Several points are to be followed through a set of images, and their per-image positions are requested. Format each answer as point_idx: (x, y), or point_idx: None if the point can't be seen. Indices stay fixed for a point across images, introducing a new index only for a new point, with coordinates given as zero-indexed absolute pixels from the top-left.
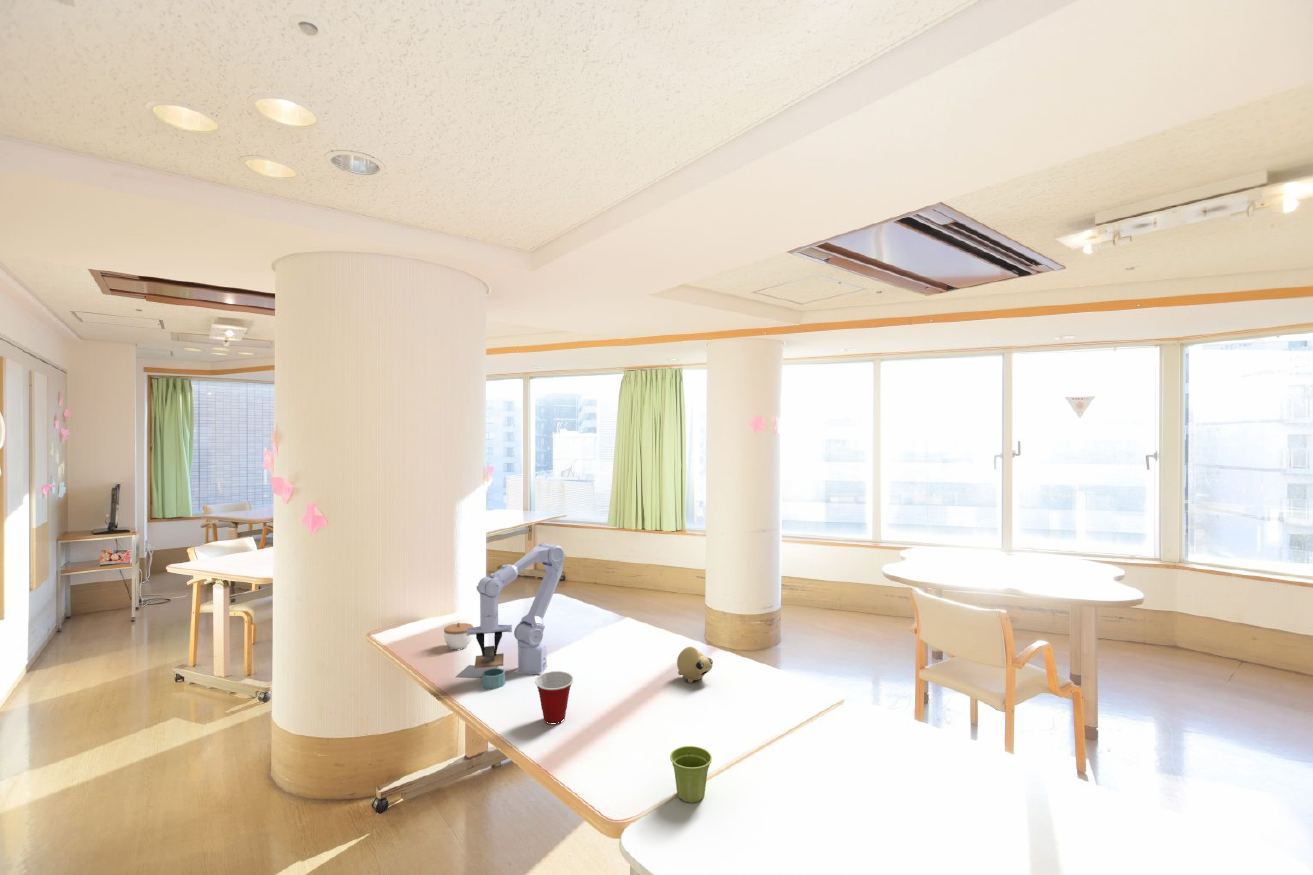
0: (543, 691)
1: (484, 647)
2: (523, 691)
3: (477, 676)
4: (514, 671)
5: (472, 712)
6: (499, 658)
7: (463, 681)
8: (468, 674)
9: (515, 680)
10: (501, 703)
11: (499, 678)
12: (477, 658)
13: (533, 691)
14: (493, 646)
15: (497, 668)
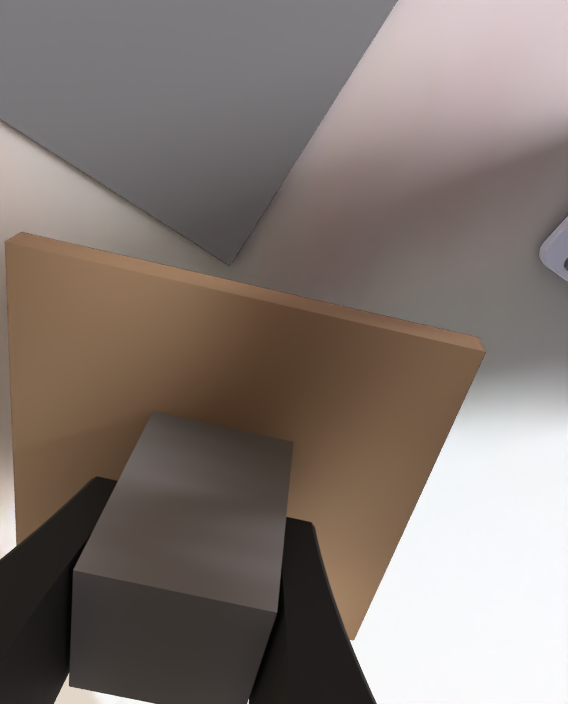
0: None
1: (69, 584)
2: (443, 607)
3: (147, 161)
4: (553, 241)
5: (94, 693)
6: (355, 500)
7: (7, 206)
8: (46, 35)
9: (474, 414)
10: None
11: None
12: (38, 363)
13: (503, 633)
14: (255, 633)
15: None
